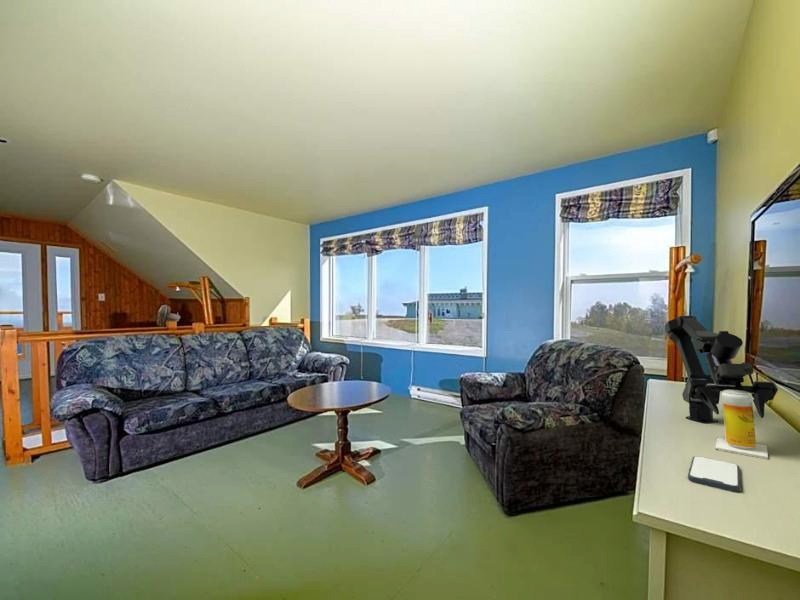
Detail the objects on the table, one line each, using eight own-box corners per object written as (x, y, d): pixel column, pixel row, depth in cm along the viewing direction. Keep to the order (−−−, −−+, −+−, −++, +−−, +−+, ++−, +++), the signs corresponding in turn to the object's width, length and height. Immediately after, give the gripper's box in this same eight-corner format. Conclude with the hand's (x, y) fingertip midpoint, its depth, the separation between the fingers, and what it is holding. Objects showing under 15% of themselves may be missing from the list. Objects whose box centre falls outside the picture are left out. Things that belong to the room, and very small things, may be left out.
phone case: (693, 461, 91) (687, 482, 79) (692, 454, 91) (686, 475, 79) (740, 470, 84) (741, 495, 73) (739, 464, 84) (740, 487, 73)
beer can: (757, 452, 91) (751, 395, 92) (725, 447, 96) (720, 392, 96) (755, 445, 96) (750, 391, 97) (725, 440, 100) (721, 388, 101)
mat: (717, 439, 103) (717, 437, 103) (766, 447, 95) (766, 445, 95) (715, 449, 96) (715, 447, 96) (768, 459, 88) (767, 456, 88)
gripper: (686, 351, 105) (701, 396, 95) (771, 352, 96) (797, 402, 86) (682, 373, 111) (694, 417, 101) (760, 376, 103) (783, 424, 93)
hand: (739, 415), depth 95 cm, fingers open, 9 cm apart
